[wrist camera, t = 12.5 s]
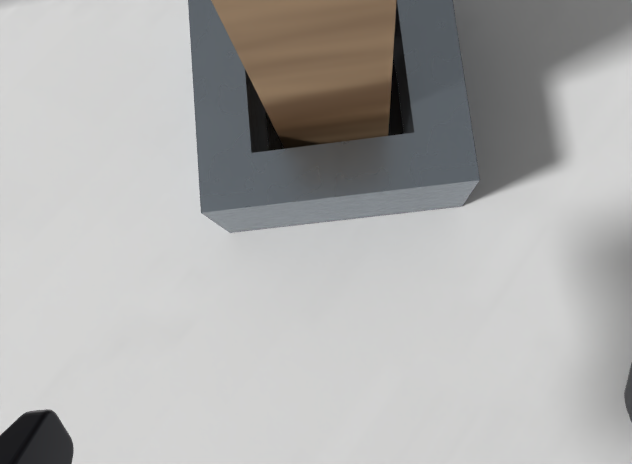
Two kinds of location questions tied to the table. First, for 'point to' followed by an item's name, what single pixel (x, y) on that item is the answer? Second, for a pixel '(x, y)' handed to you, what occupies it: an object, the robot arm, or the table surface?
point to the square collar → (340, 157)
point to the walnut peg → (317, 64)
